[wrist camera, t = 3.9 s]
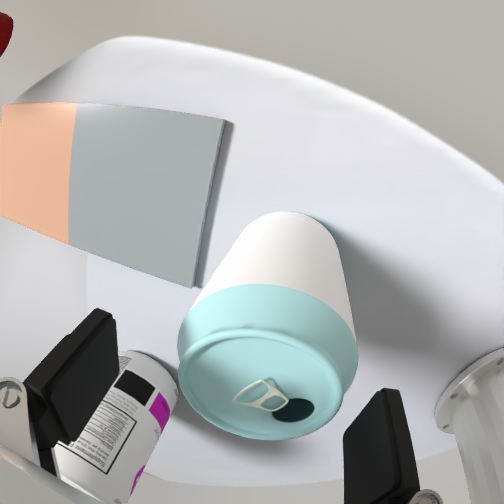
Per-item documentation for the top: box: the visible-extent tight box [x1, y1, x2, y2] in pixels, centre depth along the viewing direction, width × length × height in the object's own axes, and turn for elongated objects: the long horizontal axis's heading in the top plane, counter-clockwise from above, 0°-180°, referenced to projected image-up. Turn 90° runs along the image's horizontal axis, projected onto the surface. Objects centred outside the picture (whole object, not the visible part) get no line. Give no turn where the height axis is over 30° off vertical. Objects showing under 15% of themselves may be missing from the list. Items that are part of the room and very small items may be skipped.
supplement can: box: [54, 351, 179, 504], centre depth 21 cm, size 8×8×15 cm
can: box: [177, 211, 358, 440], centre depth 15 cm, size 7×7×12 cm
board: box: [0, 103, 226, 288], centre depth 21 cm, size 24×12×1 cm, turn 77°
